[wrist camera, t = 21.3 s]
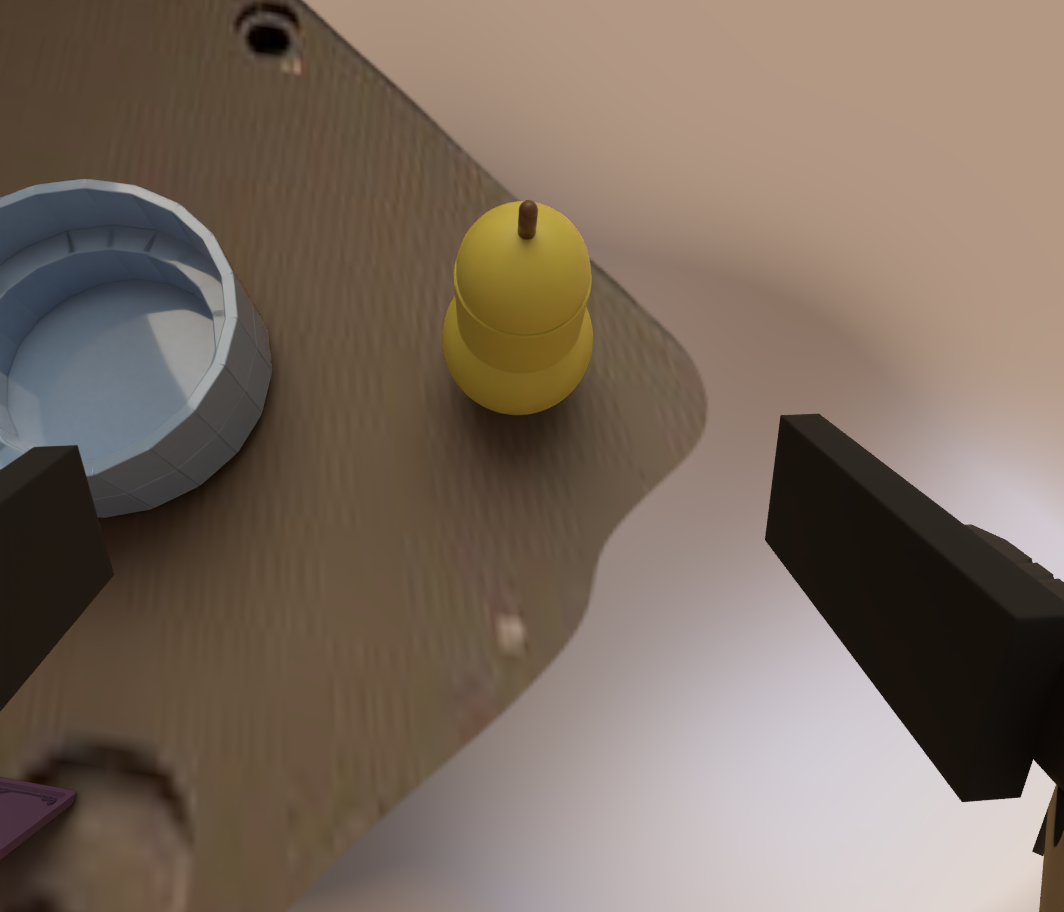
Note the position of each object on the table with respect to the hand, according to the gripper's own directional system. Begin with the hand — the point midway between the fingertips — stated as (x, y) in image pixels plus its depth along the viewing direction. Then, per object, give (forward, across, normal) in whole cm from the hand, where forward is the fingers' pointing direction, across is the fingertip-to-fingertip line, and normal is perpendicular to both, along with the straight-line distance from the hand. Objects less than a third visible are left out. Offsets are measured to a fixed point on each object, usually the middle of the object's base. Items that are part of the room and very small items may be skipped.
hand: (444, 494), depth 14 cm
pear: (+20, +2, -4) cm, 21 cm away
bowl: (+20, -15, -3) cm, 26 cm away
